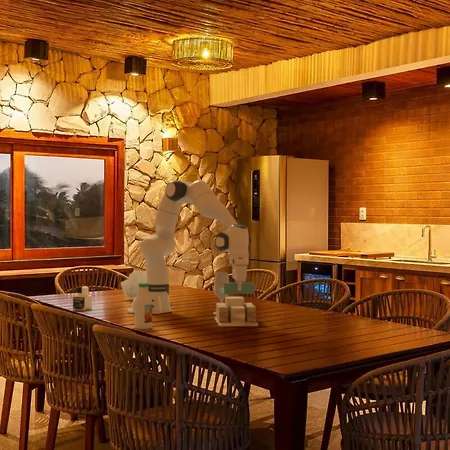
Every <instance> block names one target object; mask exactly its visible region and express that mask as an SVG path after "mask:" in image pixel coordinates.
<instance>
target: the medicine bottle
mask: <svg viewBox="0 0 450 450" xmlns="http://www.w3.org/2000/svg"><path fill="white" fill-rule="evenodd" d="M91 308H93V295H91V294H89V287H88V286H86V285H78V286H77V287H76V295H73V296H72V310H73V311H75V310H76V311H87V310H86V309H88V310H91Z"/></svg>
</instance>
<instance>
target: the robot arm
mask: <svg viewBox="0 0 450 450" xmlns="http://www.w3.org/2000/svg"><path fill="white" fill-rule="evenodd" d="M184 204H187V205H192V206H193V205H194V206H195V208H196V210H197V211H198V213H199V214H200V215H201V216H203V217H205V218H208V219H212V220H215V221H219V222H220V223H221V224H224V226H225V228H226V229H225V230H223V231H220V232H218V233H217V234H216V236H215V238H214V245H215V247H216V249H217V250H218V251H219V252H222V253H229V255H228V256H229V257H228V258H229V261H228V263H229V264H230V265H231V268H232V270H231V271H232V273H231V274H232V275H231V276H232V279H234V281H235V283H237V290H238V291H241V289H242V283H246V281H247V277H248V276H247V275H248V274H247V273H248V265H249V261H250V260H249V259H250V257H249V254H250V253H249V249H251V248H250V247H251V246H252V236H251V235H250V233H249V230H248V227H247V226H246V225H244V224H241V223H239V221H238V219H236V217H235V216H234V214H233V213H232V212H231V210H230V209H229V208H228V207H226V206H225V205H224V204H223V203H222V202H221V201H220V200H219V199H218V197H217V196H216V195H215V192H214V190H213V189H212V188H211V186H210V185H209V184H208V183H207V182H206V181H205V180H201V179H200V180H199V179H198V180H196V181H193V182H192V181H188V180H187V181H186V180H178V179H174V180H170V181H169V182H167V184H166V187H165V191H164V193H163V195H162V197H161V199H160V202H159V204H158V208H157V211H156V215H155V218H154V220H153V221H154V223H153V224H154V225H155V233H154V235H152V236H148V237H145V238H144V239H143V240H142V241H141V242H140V244H139V252H140V253H141V254H142V256H143V257H144V262H145V266H146V270H147V283H149V288H148V291H149V294H150V296H151V299H152V315H154V314H155V315H158V314H163V313H169V312H172V309H171V303H170V283H169V267H168V266H167V263H166V261H165V257H168V256H169V255H171V254H173V253H174V251H175V250H176V246H177V245H176V242H175V231H176V226H177V222H178V218H179V216H180V215H179V214H180V211H181V208H182V206H183V205H184ZM136 297H137V296H136ZM136 297H135V298H134V299H133V298H132V302H131V307H129V308H127V311H126V312H127V313H129V314H135V300H136Z"/></svg>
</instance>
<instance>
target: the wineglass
mask: <svg viewBox="0 0 450 450" xmlns="http://www.w3.org/2000/svg"><path fill="white" fill-rule="evenodd" d="M224 283H231V282H230V277H229V273H228V272H220V271H217V272H216V273H215V277H214V282H213V290H214V291H213V292H214V294H215V296H216V297H217V298H218V299H219V300H220V302H219V303H224V299H225V297H229V294H223V293H222V292H221V288H223V287H224ZM212 314H213V315H214V316H216V311H214V312H212Z"/></svg>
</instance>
